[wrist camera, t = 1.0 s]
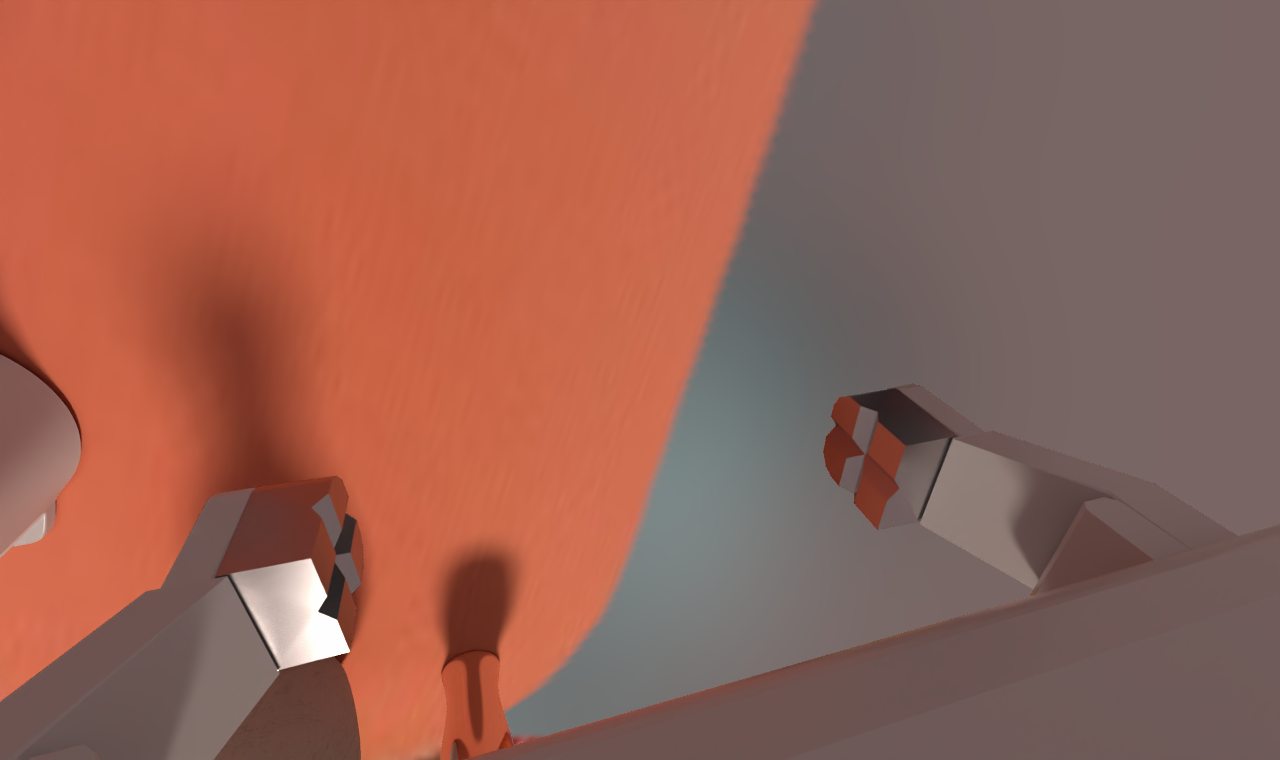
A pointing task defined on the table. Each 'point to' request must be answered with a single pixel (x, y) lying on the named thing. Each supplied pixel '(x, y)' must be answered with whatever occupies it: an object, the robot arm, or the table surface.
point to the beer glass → (473, 707)
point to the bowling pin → (300, 718)
